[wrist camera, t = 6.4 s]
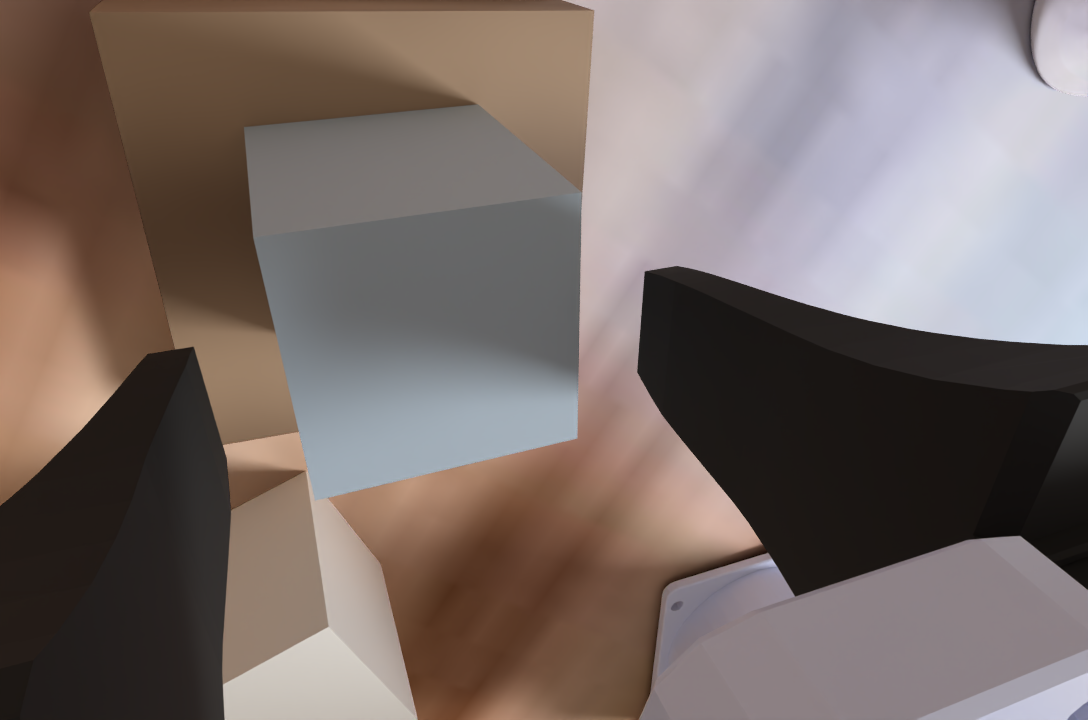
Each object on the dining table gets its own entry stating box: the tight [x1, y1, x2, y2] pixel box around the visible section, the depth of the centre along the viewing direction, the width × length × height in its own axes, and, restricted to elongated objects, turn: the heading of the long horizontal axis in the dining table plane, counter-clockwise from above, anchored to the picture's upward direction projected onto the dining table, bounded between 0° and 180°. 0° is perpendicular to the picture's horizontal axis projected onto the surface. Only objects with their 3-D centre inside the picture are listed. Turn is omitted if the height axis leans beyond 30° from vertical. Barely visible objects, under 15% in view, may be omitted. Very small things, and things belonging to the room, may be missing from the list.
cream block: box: [222, 471, 418, 720], centre depth 19 cm, size 4×4×6 cm
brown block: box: [89, 0, 594, 445], centre depth 17 cm, size 9×9×2 cm
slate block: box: [244, 104, 582, 501], centre depth 13 cm, size 4×4×6 cm
